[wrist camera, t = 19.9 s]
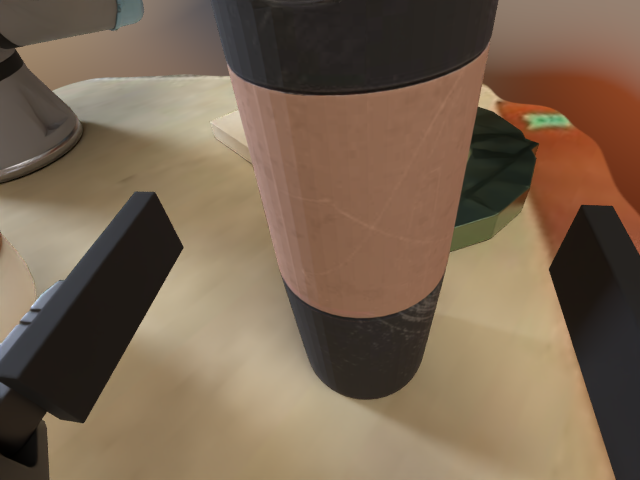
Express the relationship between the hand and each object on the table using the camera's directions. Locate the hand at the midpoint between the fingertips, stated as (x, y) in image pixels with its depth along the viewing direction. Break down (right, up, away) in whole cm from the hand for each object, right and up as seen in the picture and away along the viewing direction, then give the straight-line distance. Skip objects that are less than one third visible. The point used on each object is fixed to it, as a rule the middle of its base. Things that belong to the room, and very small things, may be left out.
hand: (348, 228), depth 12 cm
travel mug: (+2, -7, +11) cm, 13 cm away
